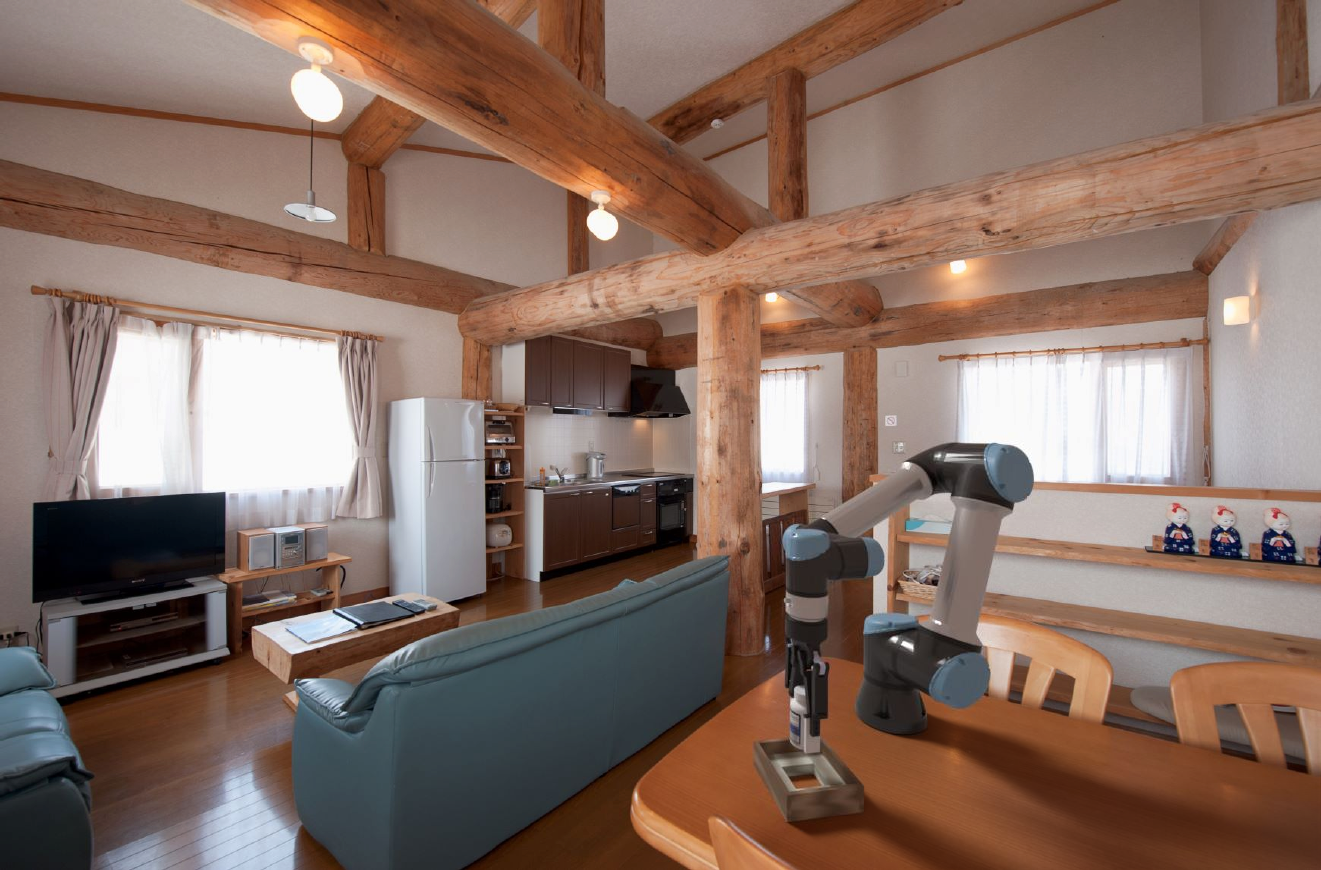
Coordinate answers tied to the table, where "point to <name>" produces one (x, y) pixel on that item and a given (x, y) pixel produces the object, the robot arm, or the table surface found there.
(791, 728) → the pill bottle
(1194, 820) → the table surface
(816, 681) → the robot arm
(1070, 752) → the table surface
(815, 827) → the table surface
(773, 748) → the box
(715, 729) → the table surface
